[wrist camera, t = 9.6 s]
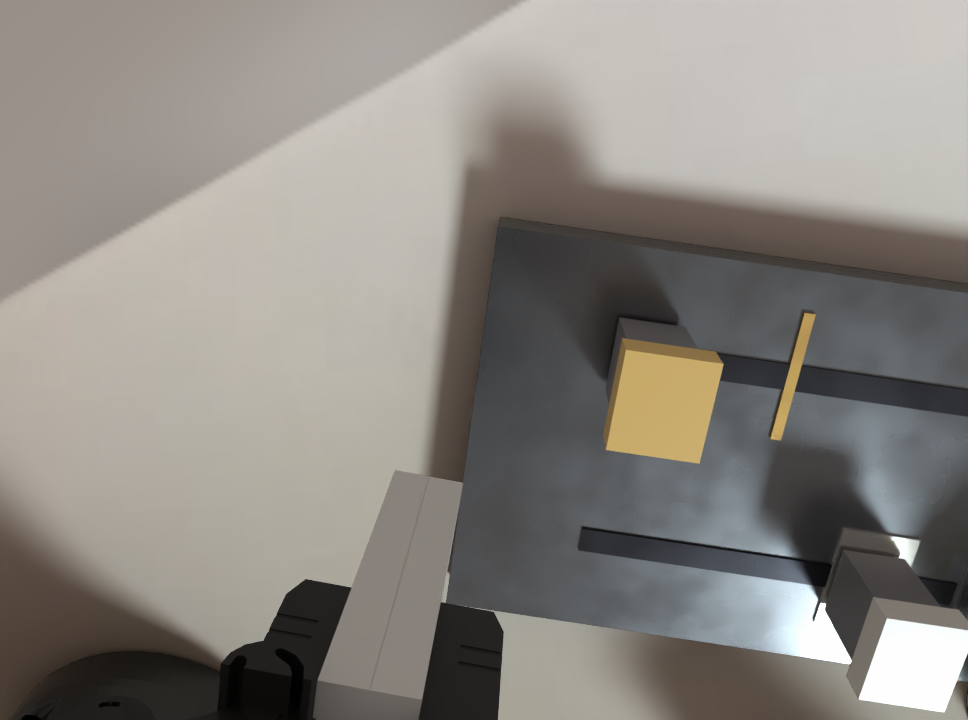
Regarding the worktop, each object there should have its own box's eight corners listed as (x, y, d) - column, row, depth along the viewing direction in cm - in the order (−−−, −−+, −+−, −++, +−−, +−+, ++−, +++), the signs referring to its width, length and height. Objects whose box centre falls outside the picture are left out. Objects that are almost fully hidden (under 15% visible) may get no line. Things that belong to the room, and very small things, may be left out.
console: (450, 575, 36) (443, 618, 34) (500, 217, 31) (496, 230, 28) (947, 650, 36) (982, 699, 33) (1082, 300, 31) (1137, 322, 28)
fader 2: (814, 614, 33) (858, 699, 29) (837, 542, 32) (887, 618, 28) (888, 625, 33) (944, 712, 29) (914, 553, 32) (976, 631, 28)
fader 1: (596, 395, 31) (606, 450, 26) (612, 308, 30) (625, 349, 25) (675, 406, 31) (699, 463, 26) (695, 320, 30) (723, 364, 25)
